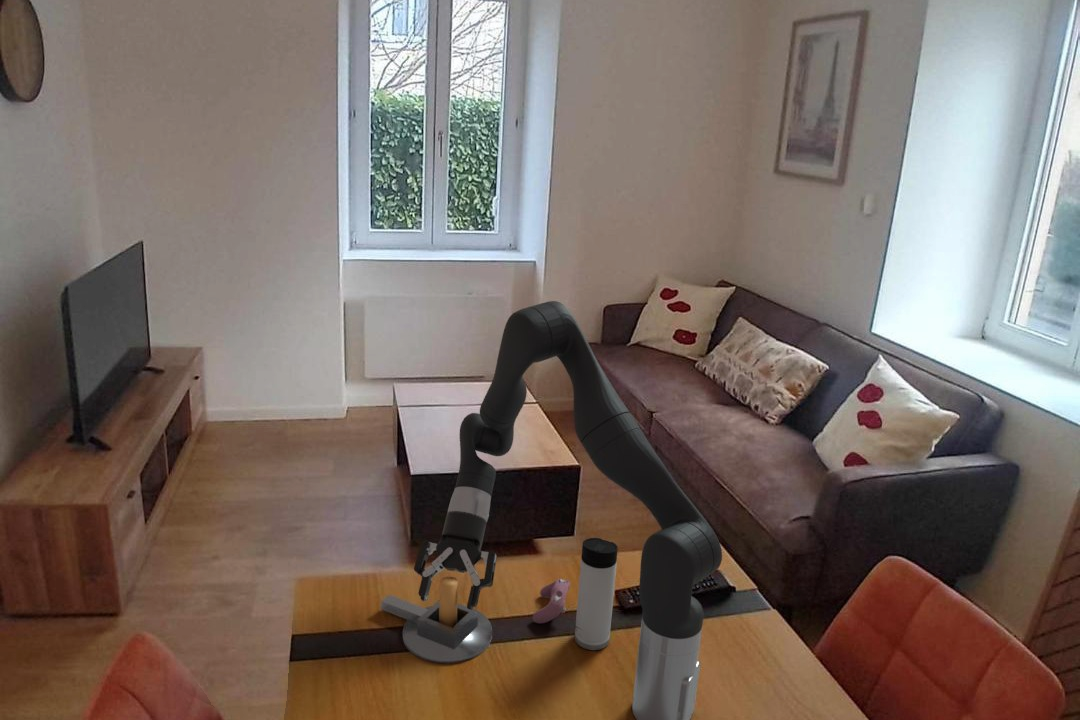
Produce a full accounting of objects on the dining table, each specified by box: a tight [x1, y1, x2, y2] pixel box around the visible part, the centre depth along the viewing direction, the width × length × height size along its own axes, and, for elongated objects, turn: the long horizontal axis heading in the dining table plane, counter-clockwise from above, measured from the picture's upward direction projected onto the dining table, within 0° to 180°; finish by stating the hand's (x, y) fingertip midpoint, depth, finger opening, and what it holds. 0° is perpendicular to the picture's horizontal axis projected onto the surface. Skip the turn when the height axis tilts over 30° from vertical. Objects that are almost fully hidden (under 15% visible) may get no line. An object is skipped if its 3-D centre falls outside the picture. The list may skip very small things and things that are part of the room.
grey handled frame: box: [380, 594, 493, 664], centre depth 148 cm, size 22×16×4 cm
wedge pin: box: [438, 576, 459, 628], centre depth 146 cm, size 3×3×10 cm
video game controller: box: [532, 577, 571, 624], centre depth 155 cm, size 10×5×7 cm, turn 170°
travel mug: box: [574, 537, 619, 651], centre depth 145 cm, size 6×7×20 cm
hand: (446, 604), depth 145 cm, fingers open, 8 cm apart
